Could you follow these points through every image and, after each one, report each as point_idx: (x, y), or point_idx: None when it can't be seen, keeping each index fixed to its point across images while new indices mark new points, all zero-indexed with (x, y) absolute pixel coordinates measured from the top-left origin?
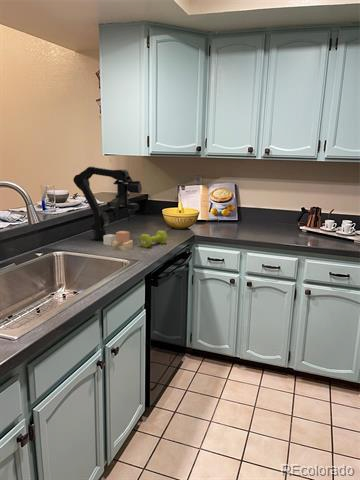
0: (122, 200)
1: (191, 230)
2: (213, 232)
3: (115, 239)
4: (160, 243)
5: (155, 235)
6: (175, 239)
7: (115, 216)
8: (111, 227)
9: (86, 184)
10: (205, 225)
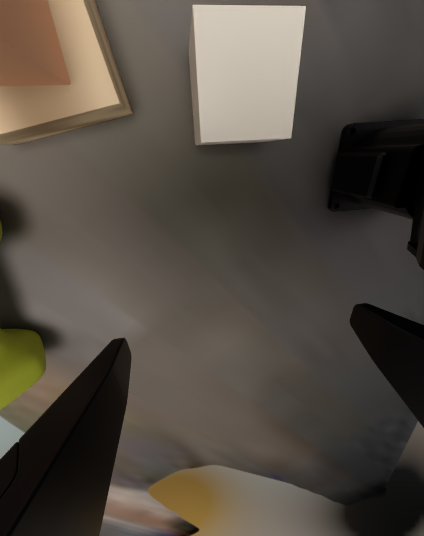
0: None
1: (135, 489)
2: None
3: (196, 126)
4: (5, 329)
5: (18, 361)
6: None
7: (408, 331)
8: None
9: None
10: (155, 522)
